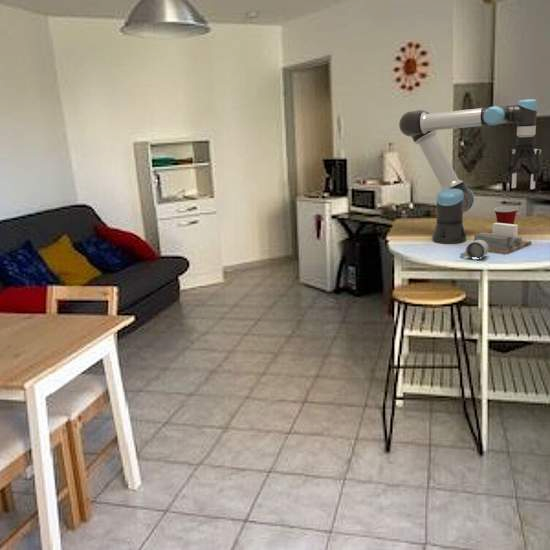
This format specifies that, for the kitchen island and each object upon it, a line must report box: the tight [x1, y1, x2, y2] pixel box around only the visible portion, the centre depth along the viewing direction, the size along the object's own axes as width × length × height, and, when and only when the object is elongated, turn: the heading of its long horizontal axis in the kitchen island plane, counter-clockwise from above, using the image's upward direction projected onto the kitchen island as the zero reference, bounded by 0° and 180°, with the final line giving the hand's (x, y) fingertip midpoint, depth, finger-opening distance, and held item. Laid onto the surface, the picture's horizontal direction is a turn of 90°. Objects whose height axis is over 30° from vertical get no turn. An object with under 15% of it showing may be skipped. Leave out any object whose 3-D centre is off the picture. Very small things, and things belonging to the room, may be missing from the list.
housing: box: [473, 232, 532, 255], centre depth 248 cm, size 22×16×6 cm
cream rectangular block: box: [491, 222, 519, 239], centre depth 249 cm, size 3×10×8 cm, turn 41°
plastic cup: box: [493, 205, 519, 224], centre depth 274 cm, size 11×11×12 cm
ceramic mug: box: [459, 240, 489, 260], centre depth 234 cm, size 11×8×8 cm
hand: (523, 188), depth 255 cm, fingers open, 8 cm apart
